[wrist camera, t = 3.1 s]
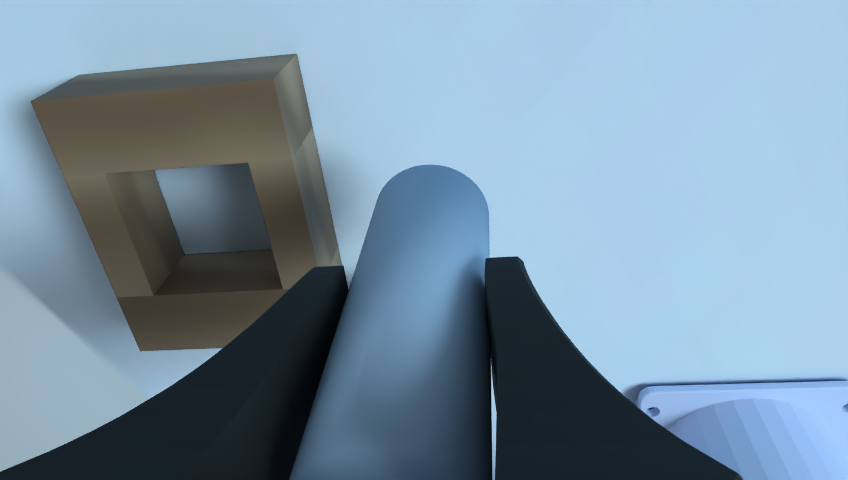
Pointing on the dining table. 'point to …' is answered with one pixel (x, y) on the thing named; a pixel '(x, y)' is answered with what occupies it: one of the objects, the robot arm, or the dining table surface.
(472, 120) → the dining table surface
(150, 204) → the block with square hole
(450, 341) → the long dowel
